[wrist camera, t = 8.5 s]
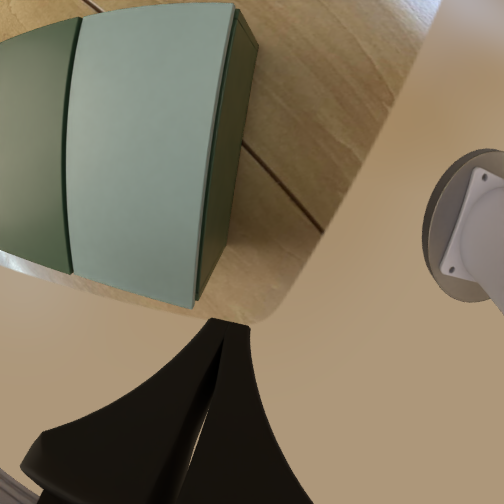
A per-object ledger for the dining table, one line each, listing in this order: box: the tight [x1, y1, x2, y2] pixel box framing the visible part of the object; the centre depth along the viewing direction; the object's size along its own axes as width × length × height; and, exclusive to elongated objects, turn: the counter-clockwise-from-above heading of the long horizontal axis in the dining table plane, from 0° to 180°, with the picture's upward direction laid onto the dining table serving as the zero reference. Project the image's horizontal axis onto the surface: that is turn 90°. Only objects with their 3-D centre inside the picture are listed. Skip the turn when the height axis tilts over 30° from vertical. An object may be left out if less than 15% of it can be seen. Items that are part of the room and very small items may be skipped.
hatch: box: [66, 3, 235, 309], centre depth 11 cm, size 7×13×1 cm, turn 171°
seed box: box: [0, 9, 259, 301], centre depth 14 cm, size 14×13×7 cm
